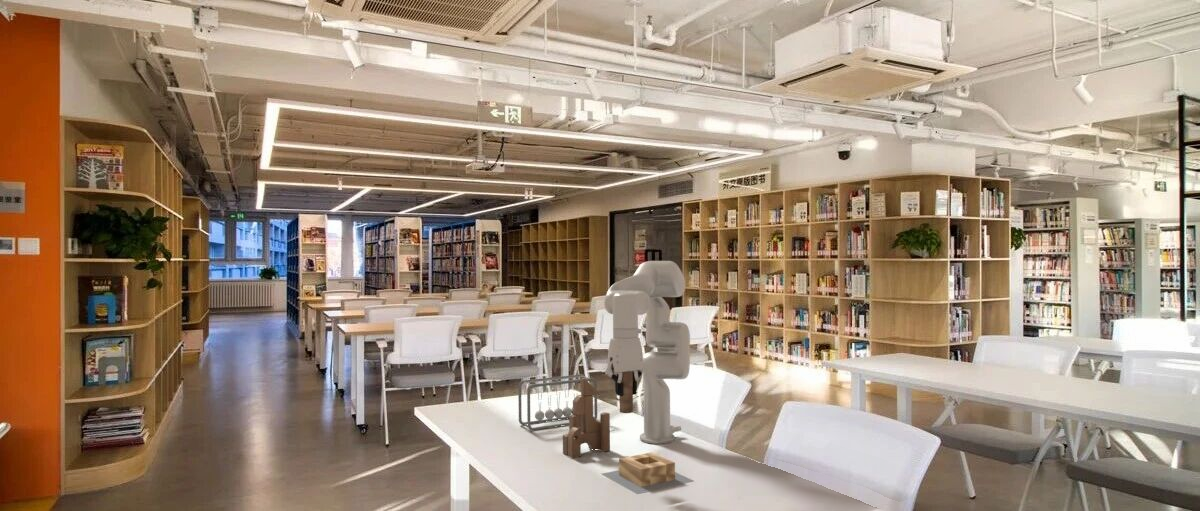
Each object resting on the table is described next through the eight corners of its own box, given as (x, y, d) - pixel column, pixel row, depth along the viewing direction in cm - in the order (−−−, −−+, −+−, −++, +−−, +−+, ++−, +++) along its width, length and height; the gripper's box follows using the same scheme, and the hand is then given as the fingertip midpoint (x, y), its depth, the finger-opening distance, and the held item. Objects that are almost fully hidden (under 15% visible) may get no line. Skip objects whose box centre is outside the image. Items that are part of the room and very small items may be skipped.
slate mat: (655, 464, 212) (655, 462, 212) (694, 482, 195) (694, 480, 195) (601, 475, 202) (601, 473, 202) (637, 495, 185) (637, 493, 185)
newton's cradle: (528, 431, 253) (527, 385, 253) (518, 425, 263) (517, 380, 263) (597, 421, 267) (597, 377, 267) (586, 416, 277) (585, 373, 277)
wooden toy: (571, 458, 220) (570, 382, 219) (562, 453, 225) (561, 379, 225) (611, 451, 227) (611, 378, 227) (601, 446, 233) (601, 375, 233)
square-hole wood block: (651, 468, 207) (651, 452, 207) (675, 479, 197) (674, 462, 197) (619, 475, 201) (618, 458, 201) (641, 487, 191) (641, 469, 191)
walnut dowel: (628, 409, 203) (628, 357, 203) (635, 412, 199) (634, 358, 199) (617, 411, 201) (616, 358, 201) (624, 413, 198) (623, 360, 197)
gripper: (642, 330, 207) (643, 389, 208) (595, 334, 199) (595, 395, 200) (655, 333, 201) (656, 393, 201) (607, 337, 193) (608, 400, 193)
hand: (626, 394), depth 200 cm, fingers closed on walnut dowel, 4 cm apart
